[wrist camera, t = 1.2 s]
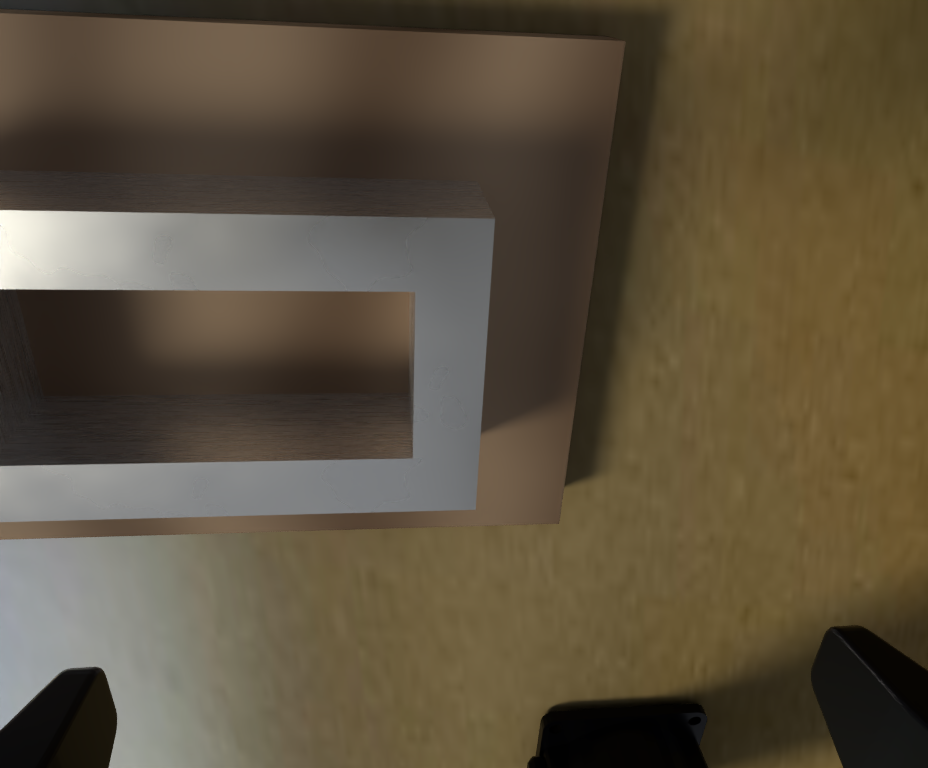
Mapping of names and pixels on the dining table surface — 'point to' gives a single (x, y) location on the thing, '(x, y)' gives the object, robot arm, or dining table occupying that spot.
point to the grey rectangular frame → (246, 415)
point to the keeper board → (326, 156)
